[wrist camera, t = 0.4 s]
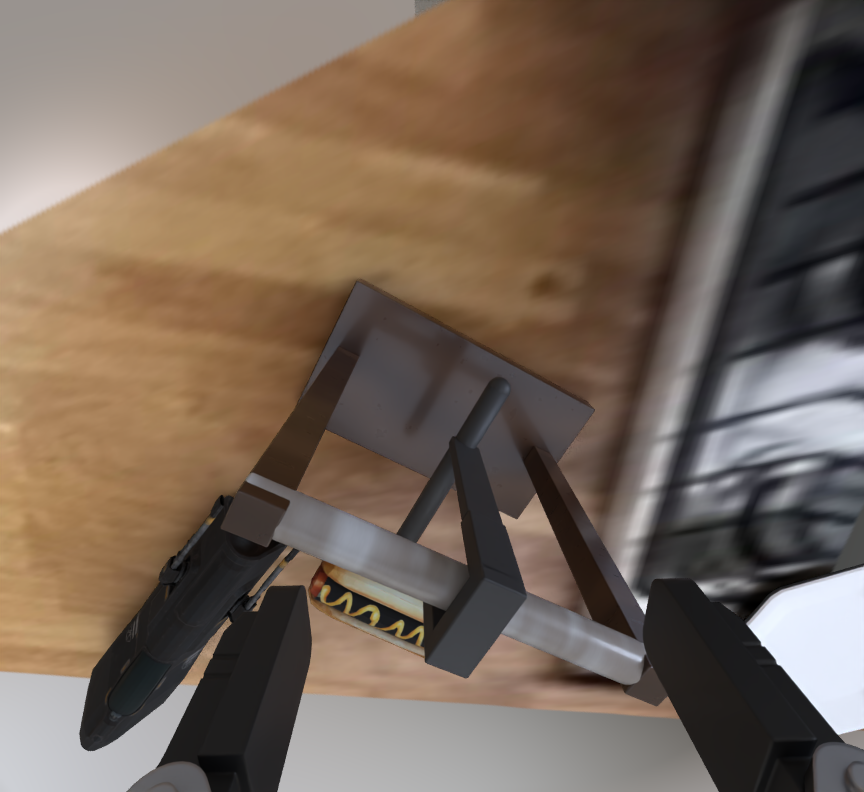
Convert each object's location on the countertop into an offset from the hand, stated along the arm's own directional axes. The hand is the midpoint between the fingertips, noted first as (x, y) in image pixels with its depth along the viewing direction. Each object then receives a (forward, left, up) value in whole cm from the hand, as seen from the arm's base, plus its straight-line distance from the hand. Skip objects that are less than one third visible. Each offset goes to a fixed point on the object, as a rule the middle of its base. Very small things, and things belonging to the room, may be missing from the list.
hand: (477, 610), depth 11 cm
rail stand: (+3, +2, -22) cm, 22 cm away
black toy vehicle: (+27, -8, -22) cm, 36 cm away
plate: (+7, +43, -22) cm, 49 cm away
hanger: (+3, +2, -14) cm, 14 cm away
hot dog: (+18, +6, -22) cm, 29 cm away
